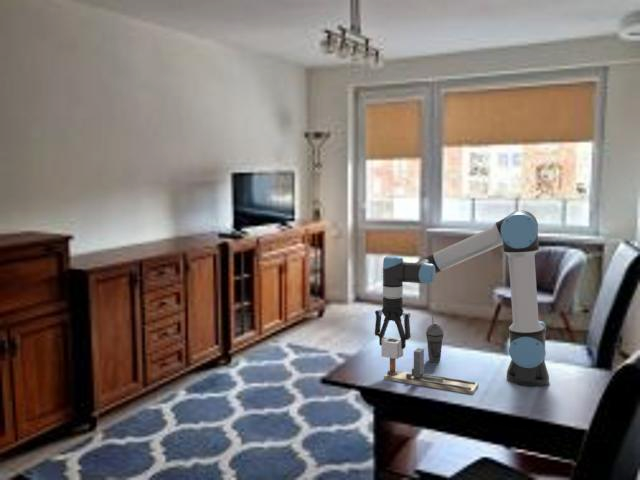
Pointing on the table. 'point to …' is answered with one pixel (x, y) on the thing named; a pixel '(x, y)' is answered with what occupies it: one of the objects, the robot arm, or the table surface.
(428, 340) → the beverage cup
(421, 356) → the grey l-shaped block
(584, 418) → the table surface
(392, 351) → the link
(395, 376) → the board
